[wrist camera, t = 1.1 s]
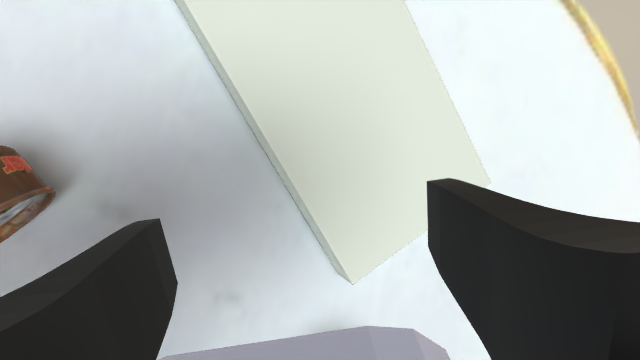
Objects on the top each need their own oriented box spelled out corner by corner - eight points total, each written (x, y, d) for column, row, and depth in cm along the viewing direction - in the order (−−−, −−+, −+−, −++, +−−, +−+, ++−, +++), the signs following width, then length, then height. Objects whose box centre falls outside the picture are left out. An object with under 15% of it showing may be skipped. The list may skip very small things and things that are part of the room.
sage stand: (339, 274, 25) (352, 285, 23) (157, -29, 21) (155, -47, 19) (468, 180, 27) (490, 182, 25) (327, -108, 23) (341, -131, 21)
